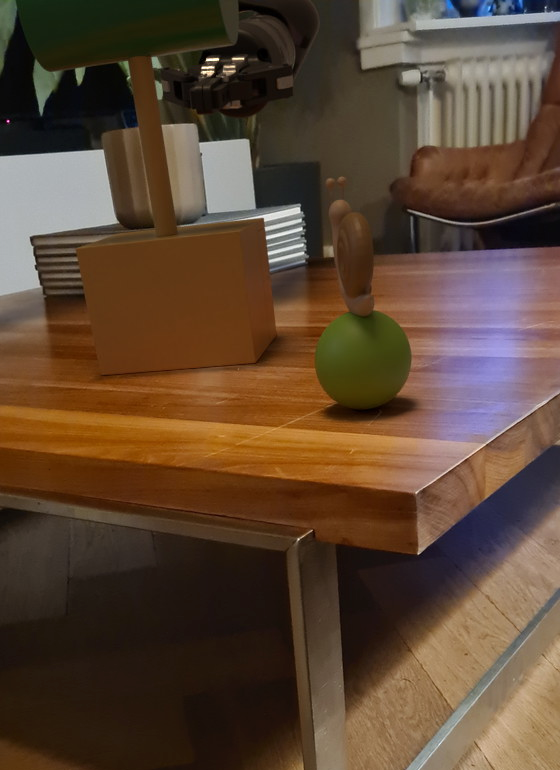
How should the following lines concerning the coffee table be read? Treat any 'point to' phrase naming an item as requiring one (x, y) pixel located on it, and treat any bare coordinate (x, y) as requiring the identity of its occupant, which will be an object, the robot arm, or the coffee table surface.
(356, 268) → the snail figurine
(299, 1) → the robot arm
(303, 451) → the coffee table surface
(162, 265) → the lamp
